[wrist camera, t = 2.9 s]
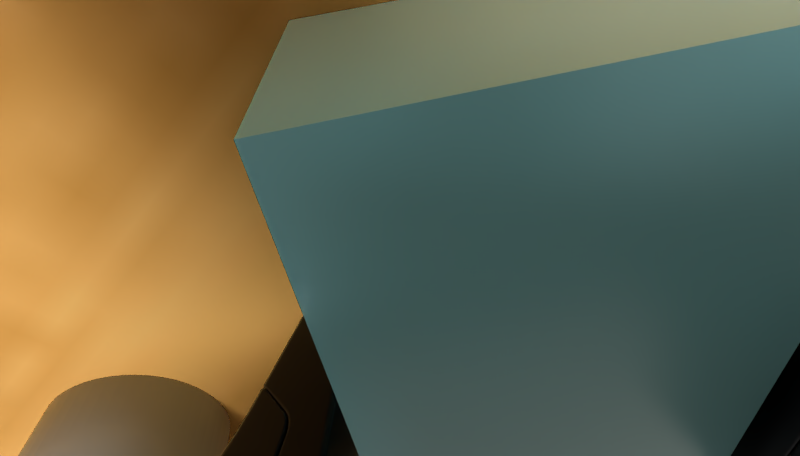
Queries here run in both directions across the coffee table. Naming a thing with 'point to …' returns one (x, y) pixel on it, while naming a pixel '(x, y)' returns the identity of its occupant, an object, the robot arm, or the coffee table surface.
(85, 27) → the coffee table surface
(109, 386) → the grey cylinder
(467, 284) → the teal long brick
